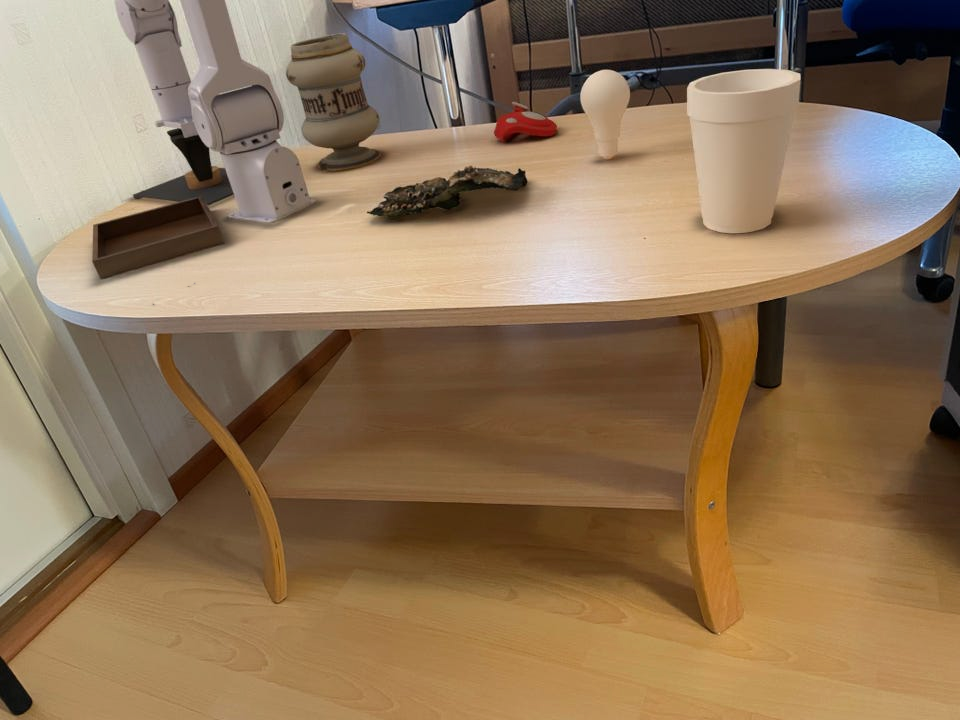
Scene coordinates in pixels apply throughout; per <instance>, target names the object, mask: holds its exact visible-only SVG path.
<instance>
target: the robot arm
mask: <svg viewBox="0 0 960 720" xmlns="http://www.w3.org/2000/svg"><path fill="white" fill-rule="evenodd" d="M179 1H180V4H181V8H182V11H183V15H184V17H185V18H184V19H185V21H186V24H187V27H188V30H189V33H190V37H191V40H192V44H193V46H194V50H195V53H196V56H197V59H198V63H199V66H200V67H199V68H198V70H197V72H196V74H195V75H194V77H193V78H191V77H190V74H189V70H188V68H187V65H186V62H185V59H184V56H183V53H182V50H181V48H182V46H183V44H182V39H181V36H180V34H179V28H178V26H179V25H178V21H177V17H176V13H175V11H174V8H173V6H172V3H171V1H170V0H114V7H115V12H116V15H117V19H118V22H119V24H120V26H121V28H122V31H123V33H124V34H125V36H126V38H127V39H128V40H129V42H131V43H133V45H134V48H135V51H136V53H137V55H138V59H139V61H140V63H141V66H142V69H143V72H144V74H145V77H146V80H147V82H148V85H149V88H150V90H151V93H152V95H153V99H154V101H155V104H156V106H157V108H158V109H157V110H158V112H159V114H160V117H161V119H159V120H154V124H155V128H162V127H164V128H173V129H170V130H167V131H166V134H167V135H168V136H169V140H170V142H171V143H172V144H173V145H174V146H175V147H176V148H177V149H178V151H179V152H181V154H182V155H183V157H184V158H185V159H186V162H187V164H188V165H189V167H190V169H191V171H193V173H194V174H195V176H196V178H197V179H198V181H199V182H202V181H206V180H210V179H213V173H212V166H213V165H212V161H211V152H210V150H212V151H213V152H217V153H219V155H220V158H221V160H222V161H221V162H222V163H223V168H225V170H226V173H227V176H228V179H229V181H230V184H231V187H232V190H233V193H234V195H233V196H234V198H235V202H236V206H237V208H238V209H237V210H235V211H232V212H230V213H228V214H227V215H226V216H227V219H235V220H241V221H242V220H243V221H251V222H257V223H259V222H260V223H263V224H264V223H265V224H274V223H276V222H278V221H280V220H282V219H284V218H286V217H288V216H290V215H292V214H295V213H297V212H299V211H301V210H303V209H305V208H307V207H309V206H311V205H313V204H315V203H317V202H316V199H313V198H310V195H309V192H308V188H307V183H306V181H305V177H304V173H303V171H302V167H301V163H300V160H299V158H298V156H297V155H296V153H295V152H294V151H293V150H291V149H290V148H289V147H286V146H282V145H281V144H280V143H279V142H278V141H277V140H279V139H281V134H280V133H281V132H282V130H283V128H284V126H283V125H284V122H285V115H284V111H283V106H282V103H281V101H280V98H279V97H278V95H277V93H276V92H275V91H276V90H275V89H274V86H273V82H272V80H271V77H270V75H269V74H268V73H266V71H265V70H263V69H262V68H260V67H258V66H256V65H254V64H252V63H250V62H248V61H246V60H244V59H243V58H242V56H241V53H240V50H239V46H238V42H237V38H236V36H235V31H234V28H233V24H232V21H231V20H232V19H231V17H230V14H229V10H228V6H227V3H226V0H179ZM191 79H192V80H191Z"/></svg>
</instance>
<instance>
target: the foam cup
mask: <svg viewBox="0 0 960 720" xmlns="http://www.w3.org/2000/svg"><path fill="white" fill-rule="evenodd" d="M801 80H802V79H801V73H799V72H796V71H793V70H789V69H778V68H757V69H755V68H754V69H741V70H733V71H725V72H720V73H715V74H711V75H707V76H702V77H700V78H697V79H695V80H693V81H691V82H689V84H688V86H687V88H686V116H688V117H689V123H690V124H689V125H690V131H691V139H692V147H693V155H694V163H695V170H696V171H695V172H696V179H697V187H698V196H699V203H700V212H701V218H702V224H703V225H704V226H705V227H706V228H707V229H708V230H711V231H715V232H717V233H724V234H725V233H726V234H744V233H752V232H757V231H759V230H763V229H765V228H766V227H768V226H770V225H771V224H772V218H773V217H774V212H775V207H776V203H777V198H778V194H779V188H780V184H781V178H782V174H783V170H784V166H785V160H786V156H787V152H788V151H787V150H788V147H789V142H790V138H791V132H792V127H793V124H794V118H795V113H796V110H797V109H799V105H800V104H799V103H800V91H801Z"/></svg>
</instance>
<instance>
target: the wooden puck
mask: <svg viewBox="0 0 960 720" xmlns="http://www.w3.org/2000/svg"><path fill="white" fill-rule="evenodd" d="M211 166H212V173H213V179H210V180H206V181H202V182H199V181H198V179H197V178H196V176H195V174H194V173H193V171H192V170H190V171H187V172H186V173H184V174H183V175H184V176H185V179H186V181H187V184H188V187H189V188H190V189H202V188H206V187H210V186H213V185H216V184H218V183H220V182H221V181H222V177H221V174H220V171H219V168H220V167H219V166H217V165H211Z"/></svg>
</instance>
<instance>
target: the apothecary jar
mask: <svg viewBox="0 0 960 720" xmlns="http://www.w3.org/2000/svg"><path fill="white" fill-rule="evenodd" d="M290 52H291V55H290V58H291V60H290V61H289V63H288V64H287V65H286V69H285V76H286V79H287V81H288V82H289V83H290V85H292V86H295V87H296V88H297V90H298V93H299V97H300V100H301V104H302V106H303V112H304V116H305V119H304V120H303V122H302V124H301V134H302V137H303V139H305V141H306V142H308V143H309V144H310V145H312V146H314V147H318V148H321V149H322V148H323V149H331V150H332V151H333V152H331V153H329V154H327V155H326V156H325V157H323V158H322V159H320V160H319V162H318V163H317V165H318V166H317V167H318V169H319V170H326V171H327V172H340V171H347V170H352V169H357V168H361V167H363V166H367V165H369V164H371V163H374V162H375V161H377V160H378V159H379V158H380V156H381V153H380V152H379V150H377V149H374V148H369V146H368V147H367V146H360V143H363V142H364V141H366V140H367V139H369V138H370V137H371V136H372V135H373V134H374V133H375V132H376V130H377V128H378V127H379V125H380V115H379V113H378V112H377V110H376V109H375V108H374V107H373V106H371V105H370V104H369V103H368V100H367V97H366V93H365V90H364V86H363V82H362V77H361V74H362V73H363V71H364V70H365V68H366V59H365V56H364V55H363V54H362V53H361V52H360V51H359V50H357V49H356V48H354V47H353V46H352V44H351V42H350V39H349V37H348V34H346V33H334V34H329V35H323V36H317V37H313V38H308V39H305V40H301V41H298V42H295V43H292V44H291V45H290Z"/></svg>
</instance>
